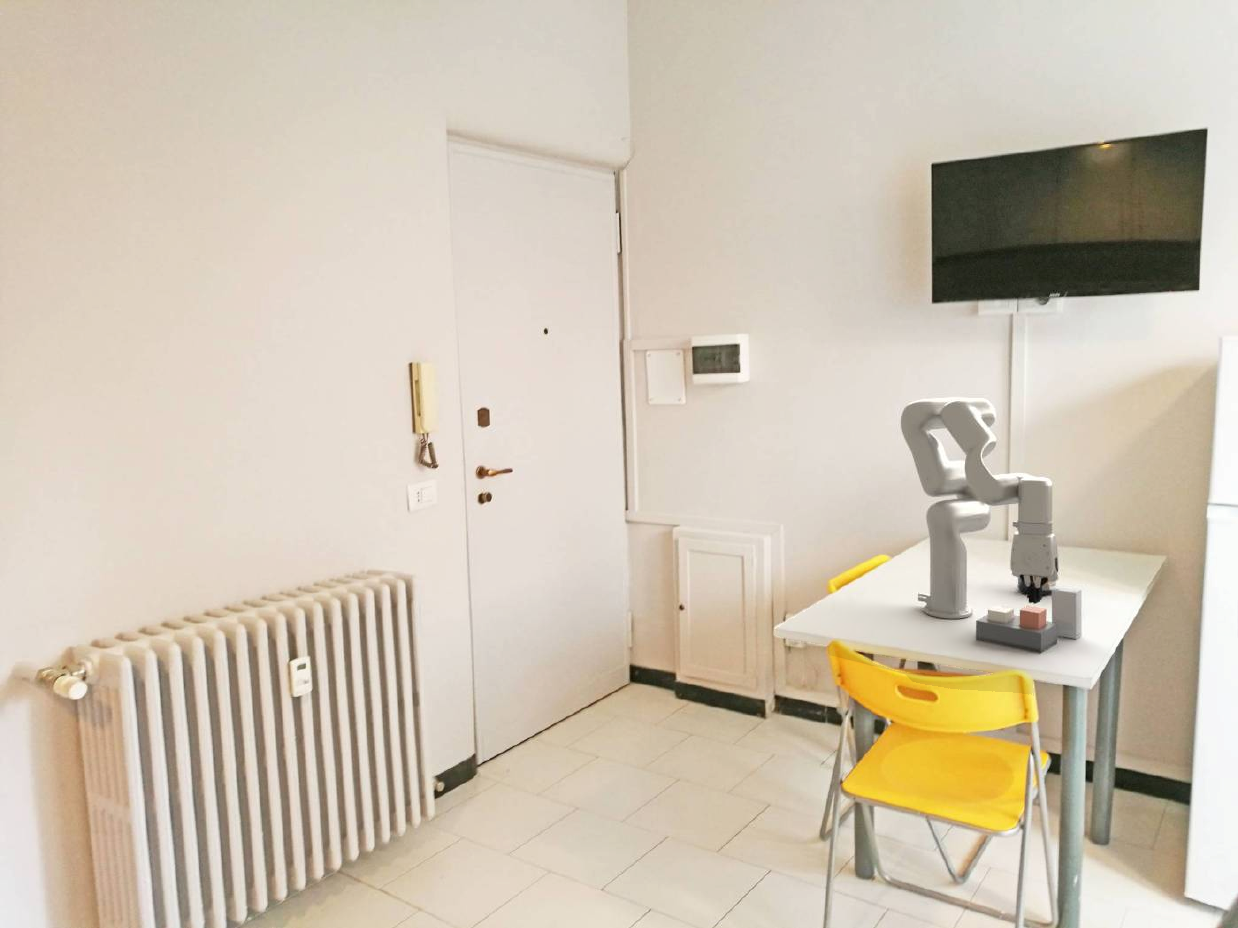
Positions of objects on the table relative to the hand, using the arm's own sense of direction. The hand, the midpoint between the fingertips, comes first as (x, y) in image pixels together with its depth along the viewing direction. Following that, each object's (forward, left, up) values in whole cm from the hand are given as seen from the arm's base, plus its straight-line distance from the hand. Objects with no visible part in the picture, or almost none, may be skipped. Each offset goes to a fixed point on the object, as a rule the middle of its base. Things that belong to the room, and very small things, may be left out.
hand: (1034, 601), depth 224 cm
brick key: (0, 0, -7) cm, 7 cm away
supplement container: (-18, +47, -11) cm, 52 cm away
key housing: (-4, 0, -11) cm, 12 cm away
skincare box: (+3, +12, -11) cm, 17 cm away
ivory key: (-8, 0, -8) cm, 12 cm away
